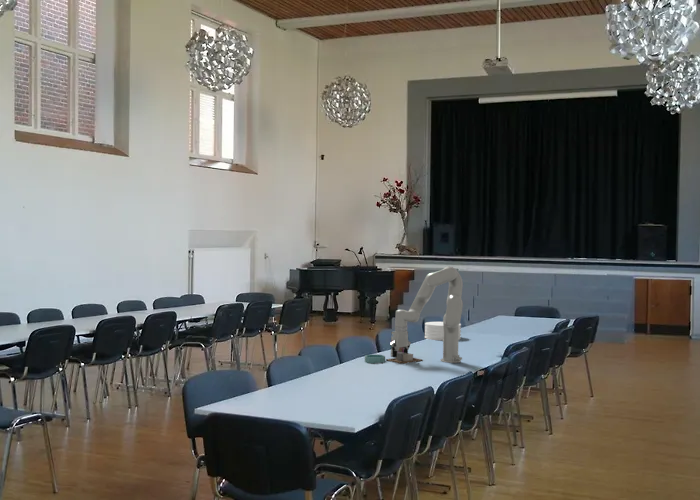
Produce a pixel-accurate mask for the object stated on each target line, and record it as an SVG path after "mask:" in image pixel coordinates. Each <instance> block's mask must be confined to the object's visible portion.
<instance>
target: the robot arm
mask: <svg viewBox="0 0 700 500" xmlns="http://www.w3.org/2000/svg"><path fill="white" fill-rule="evenodd" d="M446 283H448V292H447V298H446V302H445V303H446V311H445V314H444V315H443V318H442V322H443V340H442V345H443V346H442V358H441V359H440V360H439V361H440V362H442V363H451V364H458V363H461V361H462V360H463V357H461V356H460V354H459V340H458V337H459V326H458V325H459V324H461V320H462V314H463V305H464V303H463V300H462V295H463V285H464V284H463V278H462V276H461V274H460V273H459V271H458V270H457V269H456V268H455V267H453V266H450V265H449V266H448V265H447V266H445V267H444V268H443V269H441V270H438V271H435V272H430V273H428V274H426V276H425V278H424V280H423V281H422V283H421V285H420V288H419V290H418V291H417V293H416V295H415V297H414V300H413V302H412V303H411V306H410V307H409V309H408V310H405V309H397V310H395V317H394V318H395V320H394V321H395V323H394V331H393V332H394V334H393V341H392V343H391V342H390V344H389V345H390V350H391V349H392V350H393V357H392V358H396V357H397V351H396V350H397V348H401V347H404V353H409V349H410V348H411V347H410V346H411V343H412V342H411V341H409V332H408V322H410V323H417V322H418V321H419V320H420V319H421V318H420V317H421V315H420V314H421V313H422V311H423V309H424V307H425V306H426V304H427V303H429V300H430V299H431V297H432V296H433V294H434V291H435V289H436V287H439V286H441V285H444V284H446ZM407 332H408V333H407Z"/></svg>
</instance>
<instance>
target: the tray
mask: <svg viewBox="0 0 700 500" xmlns="http://www.w3.org/2000/svg"><path fill="white" fill-rule="evenodd" d="M386 361H387V362H392V363H397V364H408V363H417V362H423V359H421V358H416V357H413V361H405V362H404V361H399V360H396V357H392V358H387V359H386V358H385V362H386Z"/></svg>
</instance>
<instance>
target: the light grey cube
mask: <svg viewBox="0 0 700 500" xmlns="http://www.w3.org/2000/svg"><path fill="white" fill-rule="evenodd" d="M403 354H406V353H404V352H397V357H395V358H396V360H399V361H403Z"/></svg>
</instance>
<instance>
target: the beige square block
mask: <svg viewBox="0 0 700 500" xmlns="http://www.w3.org/2000/svg"><path fill="white" fill-rule="evenodd" d="M413 358H414V353H409V352H408V353H406V354H403V361H404V362H405V361H413Z"/></svg>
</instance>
